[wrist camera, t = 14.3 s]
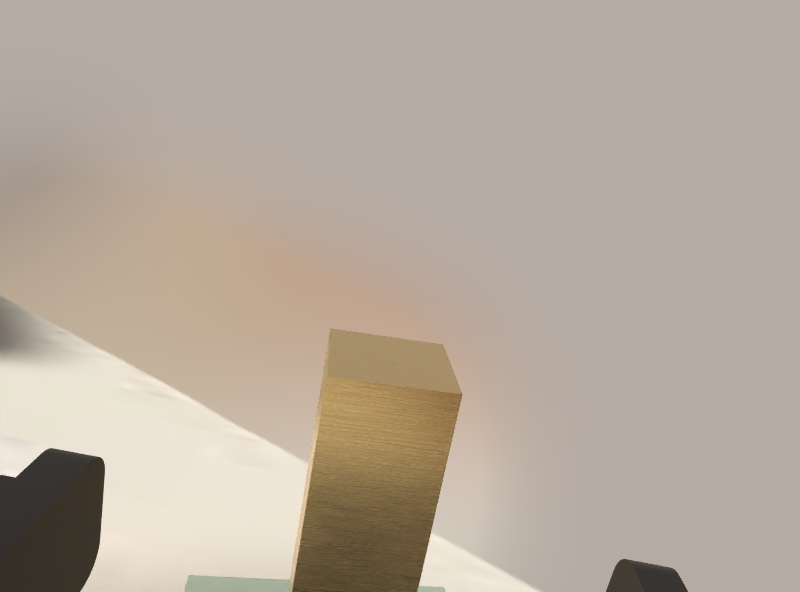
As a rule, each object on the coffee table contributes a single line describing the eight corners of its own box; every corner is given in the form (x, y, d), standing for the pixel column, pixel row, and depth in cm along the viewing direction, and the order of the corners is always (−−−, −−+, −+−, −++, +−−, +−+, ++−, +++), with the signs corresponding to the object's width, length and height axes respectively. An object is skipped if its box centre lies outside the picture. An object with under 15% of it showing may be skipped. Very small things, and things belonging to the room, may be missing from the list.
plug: (267, 743, 22) (327, 376, 18) (278, 649, 26) (330, 328, 22) (381, 750, 23) (462, 394, 19) (375, 657, 27) (442, 344, 23)
